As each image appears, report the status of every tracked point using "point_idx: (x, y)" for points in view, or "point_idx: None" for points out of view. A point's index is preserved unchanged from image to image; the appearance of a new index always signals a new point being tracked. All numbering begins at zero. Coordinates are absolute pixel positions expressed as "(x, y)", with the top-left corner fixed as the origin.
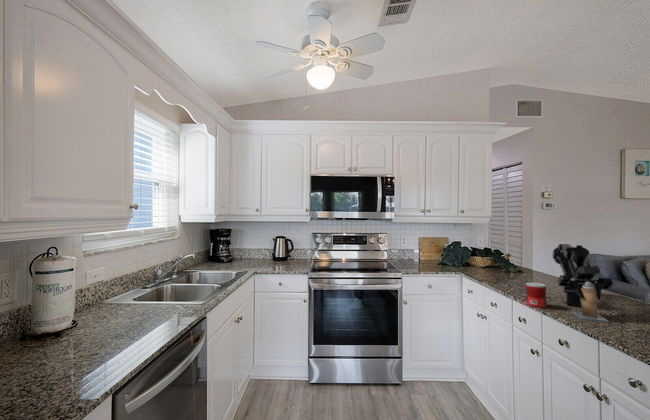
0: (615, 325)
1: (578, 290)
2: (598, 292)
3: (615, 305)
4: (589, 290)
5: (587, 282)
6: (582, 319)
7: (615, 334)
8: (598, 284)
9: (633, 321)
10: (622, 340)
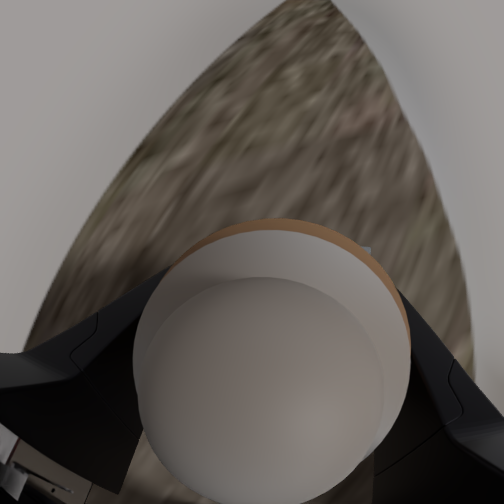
0: (214, 194)
1: (444, 349)
2: (139, 308)
3: None
4: (326, 230)
5: (334, 368)
6: (365, 249)
7: (301, 73)
8: (13, 378)
9: (79, 293)
10: (310, 34)
